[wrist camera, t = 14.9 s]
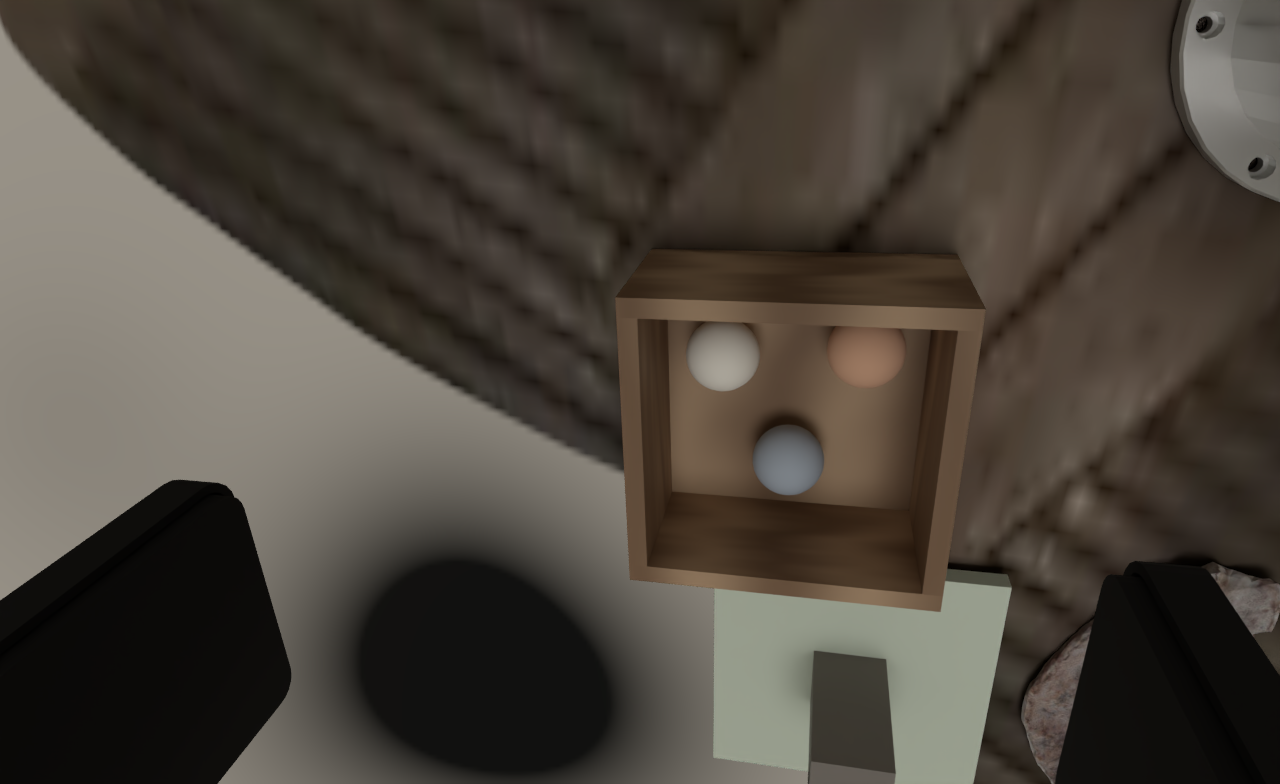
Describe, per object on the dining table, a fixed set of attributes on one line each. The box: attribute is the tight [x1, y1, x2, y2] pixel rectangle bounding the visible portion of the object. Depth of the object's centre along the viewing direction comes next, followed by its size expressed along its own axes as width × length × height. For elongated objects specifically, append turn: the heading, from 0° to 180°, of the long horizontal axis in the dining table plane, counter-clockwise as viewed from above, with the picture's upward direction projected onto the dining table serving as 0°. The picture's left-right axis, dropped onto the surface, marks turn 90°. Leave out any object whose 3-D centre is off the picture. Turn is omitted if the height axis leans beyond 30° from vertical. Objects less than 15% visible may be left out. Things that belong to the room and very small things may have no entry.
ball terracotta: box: [827, 326, 906, 388], centre depth 34 cm, size 3×3×3 cm
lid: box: [713, 569, 1012, 784], centre depth 40 cm, size 14×14×8 cm
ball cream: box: [686, 321, 760, 391], centre depth 35 cm, size 3×3×3 cm
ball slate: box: [753, 425, 824, 495], centre depth 37 cm, size 3×3×3 cm
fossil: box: [1021, 562, 1280, 784], centre depth 40 cm, size 17×4×15 cm
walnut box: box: [615, 249, 986, 612], centre depth 35 cm, size 13×13×7 cm
